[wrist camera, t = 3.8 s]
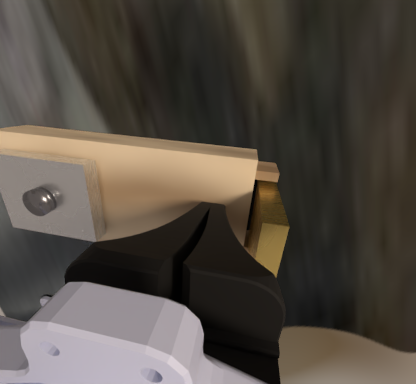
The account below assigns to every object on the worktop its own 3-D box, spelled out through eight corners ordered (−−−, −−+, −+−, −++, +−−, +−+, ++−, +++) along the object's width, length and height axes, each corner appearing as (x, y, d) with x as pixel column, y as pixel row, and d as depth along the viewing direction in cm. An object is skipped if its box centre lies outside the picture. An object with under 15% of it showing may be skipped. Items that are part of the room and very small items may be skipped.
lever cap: (106, 233, 14) (89, 248, 13) (27, 219, 15) (3, 232, 14) (95, 160, 12) (74, 168, 11) (4, 148, 13) (-26, 154, 12)
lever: (263, 237, 14) (269, 301, 10) (248, 234, 14) (247, 296, 10) (275, 181, 13) (289, 226, 8) (258, 179, 13) (262, 222, 8)
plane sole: (258, 246, 16) (259, 270, 14) (50, 211, 18) (21, 227, 16) (277, 151, 13) (283, 163, 11) (27, 125, 15) (-11, 129, 13)
